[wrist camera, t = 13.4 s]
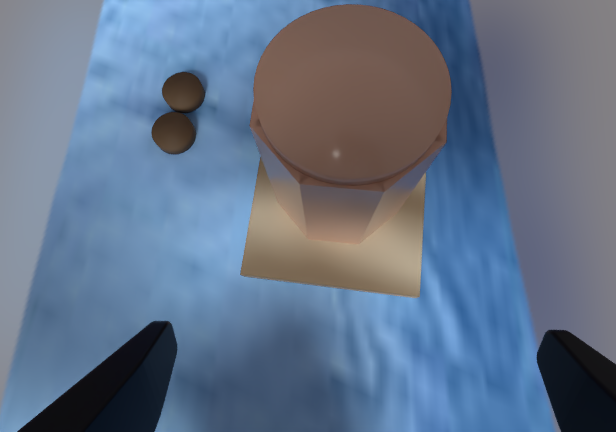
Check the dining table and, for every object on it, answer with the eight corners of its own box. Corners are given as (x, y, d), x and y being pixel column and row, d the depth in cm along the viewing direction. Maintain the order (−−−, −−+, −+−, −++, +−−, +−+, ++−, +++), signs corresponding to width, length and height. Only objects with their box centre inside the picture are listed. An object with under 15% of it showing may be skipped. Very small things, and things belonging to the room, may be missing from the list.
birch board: (415, 297, 22) (419, 296, 21) (243, 276, 23) (240, 274, 22) (425, 111, 25) (429, 103, 24) (274, 97, 26) (272, 88, 25)
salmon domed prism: (395, 248, 22) (453, 189, 12) (272, 235, 22) (235, 170, 13) (400, 136, 24) (455, 8, 14) (287, 126, 24) (265, -4, 14)
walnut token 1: (202, 115, 26) (198, 107, 25) (165, 113, 26) (158, 105, 25) (208, 82, 27) (204, 73, 26) (171, 80, 27) (165, 71, 26)
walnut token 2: (194, 155, 25) (189, 149, 24) (155, 155, 25) (149, 148, 24) (198, 120, 26) (194, 112, 25) (160, 119, 26) (154, 112, 25)
